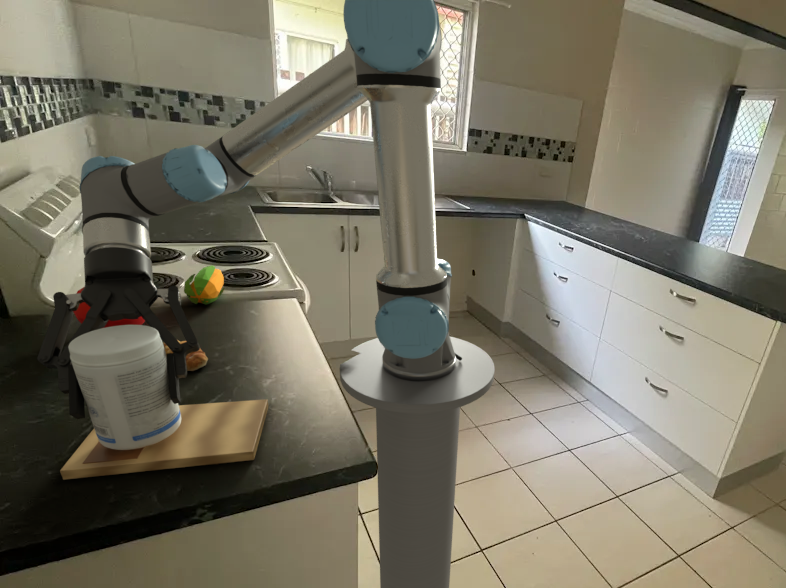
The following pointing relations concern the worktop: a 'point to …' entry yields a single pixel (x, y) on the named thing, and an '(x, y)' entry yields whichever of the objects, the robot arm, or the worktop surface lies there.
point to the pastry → (191, 358)
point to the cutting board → (180, 442)
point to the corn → (205, 285)
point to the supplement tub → (125, 385)
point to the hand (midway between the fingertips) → (128, 408)
